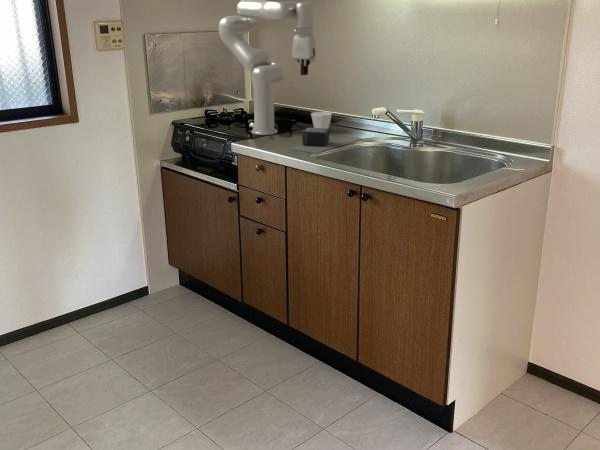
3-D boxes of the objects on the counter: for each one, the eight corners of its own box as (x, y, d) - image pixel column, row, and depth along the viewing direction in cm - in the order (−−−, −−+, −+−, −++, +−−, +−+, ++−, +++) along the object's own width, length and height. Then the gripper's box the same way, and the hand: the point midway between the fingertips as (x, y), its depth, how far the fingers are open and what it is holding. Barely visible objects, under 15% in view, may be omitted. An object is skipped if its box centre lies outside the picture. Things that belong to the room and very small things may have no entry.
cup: (331, 134, 300) (332, 115, 297) (311, 134, 300) (311, 115, 297) (331, 130, 309) (331, 111, 306) (310, 130, 309) (311, 111, 306)
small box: (302, 146, 274) (325, 146, 272) (302, 131, 272) (325, 131, 270) (306, 141, 284) (329, 142, 282) (306, 127, 282) (329, 127, 280)
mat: (289, 149, 269) (289, 148, 269) (319, 140, 285) (319, 140, 285) (316, 153, 261) (316, 153, 261) (345, 144, 278) (345, 144, 277)
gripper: (285, 31, 275) (286, 74, 281) (313, 32, 266) (312, 76, 272) (296, 31, 280) (296, 73, 287) (323, 32, 272) (322, 75, 278)
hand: (304, 74), depth 280 cm, fingers closed
